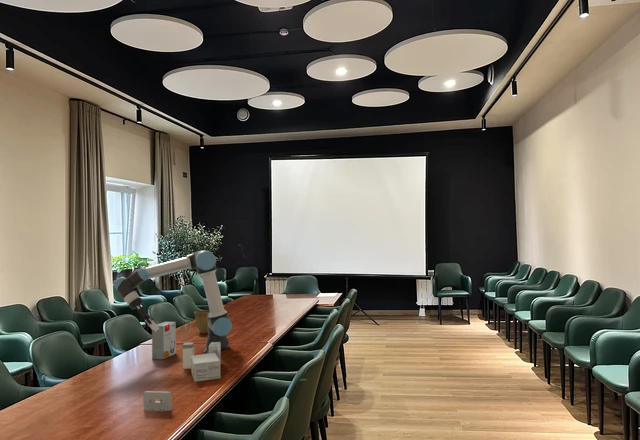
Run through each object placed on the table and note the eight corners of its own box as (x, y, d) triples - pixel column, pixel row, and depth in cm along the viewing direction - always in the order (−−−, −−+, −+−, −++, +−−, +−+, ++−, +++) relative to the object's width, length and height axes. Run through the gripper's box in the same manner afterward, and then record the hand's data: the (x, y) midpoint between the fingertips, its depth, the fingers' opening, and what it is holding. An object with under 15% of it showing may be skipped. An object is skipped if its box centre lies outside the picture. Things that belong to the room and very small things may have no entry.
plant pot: (218, 331, 363) (218, 310, 364) (204, 335, 351) (204, 313, 351) (205, 329, 371) (204, 309, 372) (190, 333, 359) (189, 312, 359)
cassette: (172, 409, 200) (171, 391, 200) (170, 411, 198) (169, 392, 198) (145, 409, 202) (145, 390, 202) (143, 410, 200) (142, 392, 200)
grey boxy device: (201, 368, 260) (201, 346, 261) (204, 363, 271) (204, 342, 271) (218, 368, 261) (217, 346, 261) (220, 363, 271) (220, 341, 272)
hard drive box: (163, 360, 282) (162, 326, 283) (151, 359, 284) (151, 326, 285) (176, 353, 298) (175, 321, 298) (165, 353, 299) (164, 321, 300)
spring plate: (202, 366, 262) (202, 351, 262) (205, 362, 270) (205, 348, 270) (205, 366, 262) (204, 351, 262) (207, 362, 270) (207, 348, 270)
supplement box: (190, 373, 253) (190, 355, 254) (215, 370, 258) (215, 352, 258) (194, 382, 238) (193, 363, 238) (220, 378, 242) (220, 360, 243)
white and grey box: (183, 368, 262) (182, 345, 262) (185, 366, 268) (184, 342, 268) (199, 367, 263) (199, 344, 263) (201, 365, 268) (200, 341, 269)
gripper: (131, 307, 287) (153, 335, 285) (124, 302, 263) (147, 332, 262) (142, 299, 289) (163, 326, 287) (136, 293, 266) (159, 323, 264)
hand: (156, 329), depth 275 cm, fingers open, 13 cm apart
